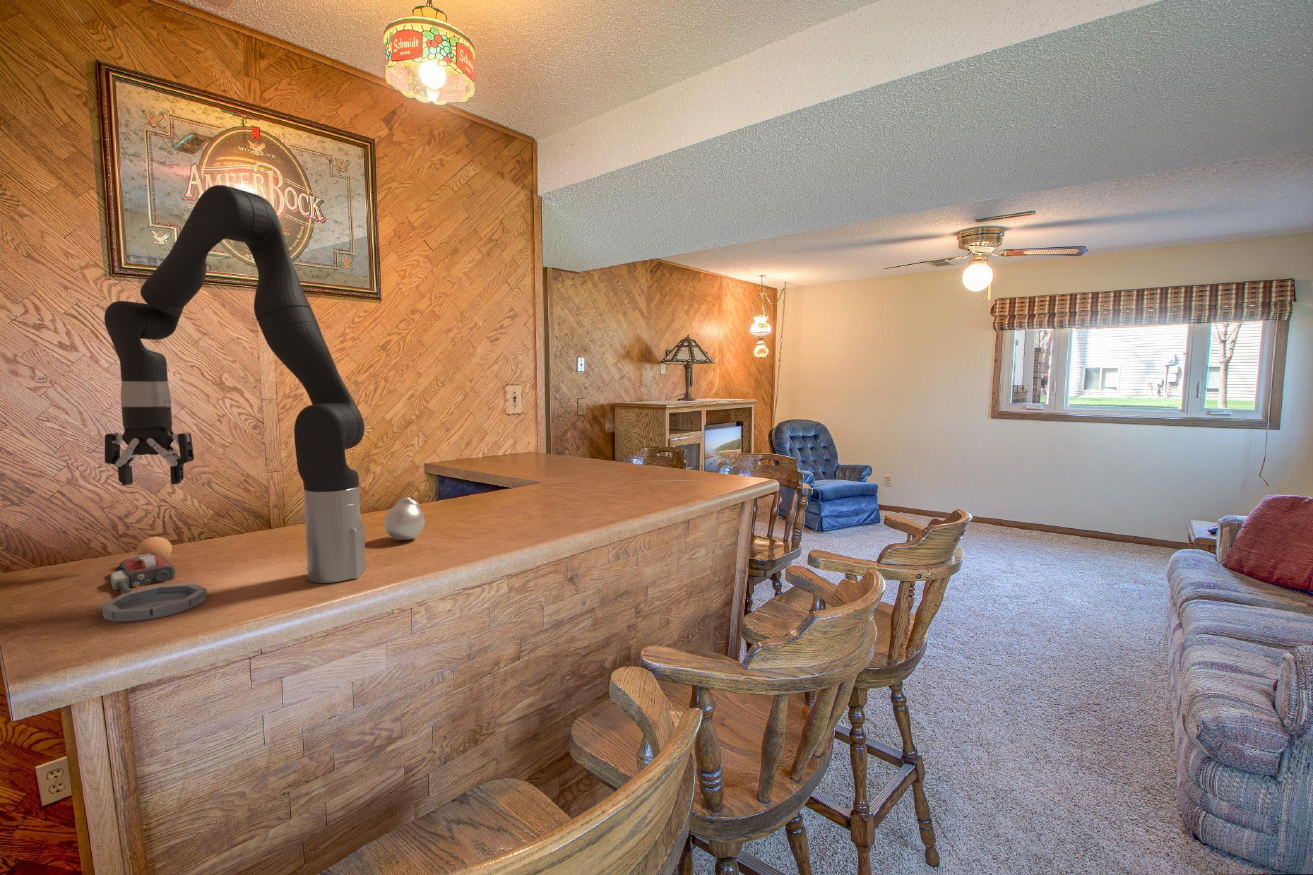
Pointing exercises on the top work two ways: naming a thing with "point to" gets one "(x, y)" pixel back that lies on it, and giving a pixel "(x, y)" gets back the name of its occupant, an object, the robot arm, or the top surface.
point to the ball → (155, 547)
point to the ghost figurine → (404, 520)
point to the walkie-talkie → (141, 572)
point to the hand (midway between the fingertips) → (152, 484)
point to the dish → (154, 602)
